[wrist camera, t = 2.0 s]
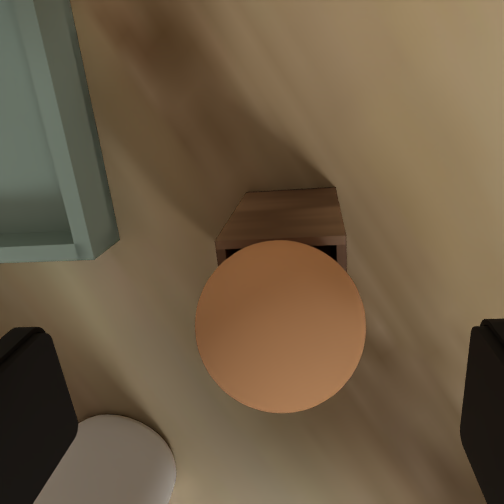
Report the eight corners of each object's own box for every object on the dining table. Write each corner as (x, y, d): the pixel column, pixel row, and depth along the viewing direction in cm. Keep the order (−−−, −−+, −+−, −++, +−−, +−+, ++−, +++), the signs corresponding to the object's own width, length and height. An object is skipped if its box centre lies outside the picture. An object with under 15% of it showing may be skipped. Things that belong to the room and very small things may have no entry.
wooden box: (335, 187, 20) (346, 235, 13) (337, 270, 21) (348, 350, 15) (246, 192, 20) (214, 240, 14) (254, 272, 22) (229, 350, 15)
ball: (357, 215, 14) (379, 280, 9) (357, 347, 15) (376, 458, 11) (206, 223, 14) (157, 286, 10) (223, 348, 16) (188, 451, 12)
